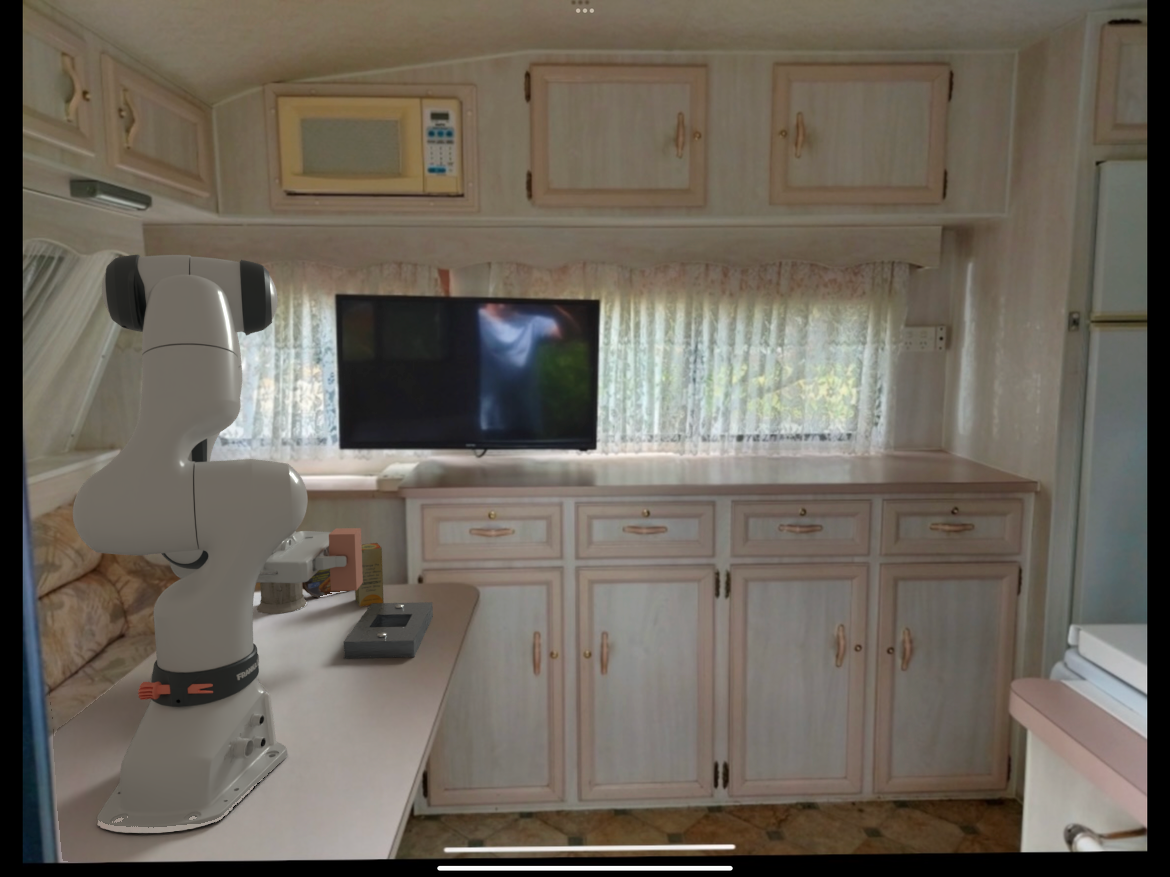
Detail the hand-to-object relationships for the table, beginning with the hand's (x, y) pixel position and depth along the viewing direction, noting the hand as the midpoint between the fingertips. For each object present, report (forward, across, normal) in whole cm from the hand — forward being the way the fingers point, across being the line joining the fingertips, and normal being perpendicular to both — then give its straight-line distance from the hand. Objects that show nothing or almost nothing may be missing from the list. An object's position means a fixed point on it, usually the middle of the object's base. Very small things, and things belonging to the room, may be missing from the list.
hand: (351, 555), depth 131 cm
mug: (-20, +22, +18) cm, 35 cm away
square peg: (-1, 0, +6) cm, 6 cm away
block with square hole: (+5, +6, +17) cm, 19 cm away
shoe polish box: (-4, +26, +17) cm, 31 cm away
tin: (-12, +33, +18) cm, 39 cm away
